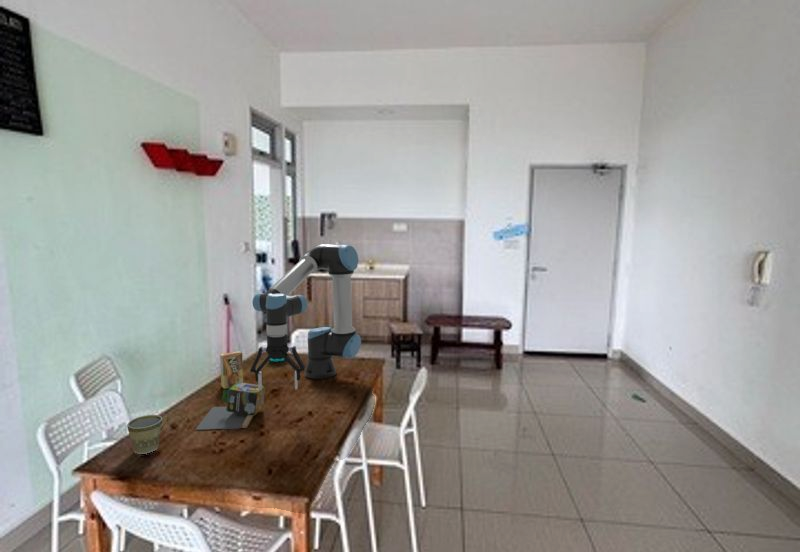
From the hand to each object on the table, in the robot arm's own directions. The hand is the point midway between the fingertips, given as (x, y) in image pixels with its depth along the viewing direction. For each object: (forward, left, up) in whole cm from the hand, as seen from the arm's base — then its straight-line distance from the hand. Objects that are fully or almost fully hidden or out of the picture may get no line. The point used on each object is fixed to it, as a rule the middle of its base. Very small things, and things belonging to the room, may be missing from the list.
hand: (278, 388), depth 174 cm
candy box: (+27, -35, -11) cm, 46 cm away
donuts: (+13, -74, -11) cm, 76 cm away
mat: (+19, 0, -11) cm, 22 cm away
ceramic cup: (+38, +22, -11) cm, 45 cm away
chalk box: (+7, -2, -5) cm, 9 cm away
